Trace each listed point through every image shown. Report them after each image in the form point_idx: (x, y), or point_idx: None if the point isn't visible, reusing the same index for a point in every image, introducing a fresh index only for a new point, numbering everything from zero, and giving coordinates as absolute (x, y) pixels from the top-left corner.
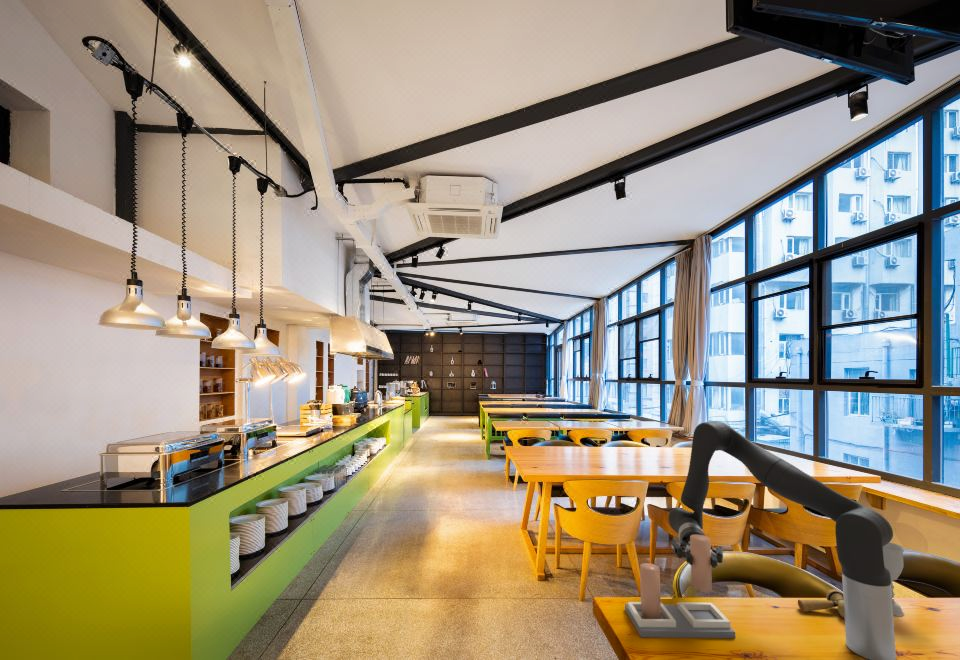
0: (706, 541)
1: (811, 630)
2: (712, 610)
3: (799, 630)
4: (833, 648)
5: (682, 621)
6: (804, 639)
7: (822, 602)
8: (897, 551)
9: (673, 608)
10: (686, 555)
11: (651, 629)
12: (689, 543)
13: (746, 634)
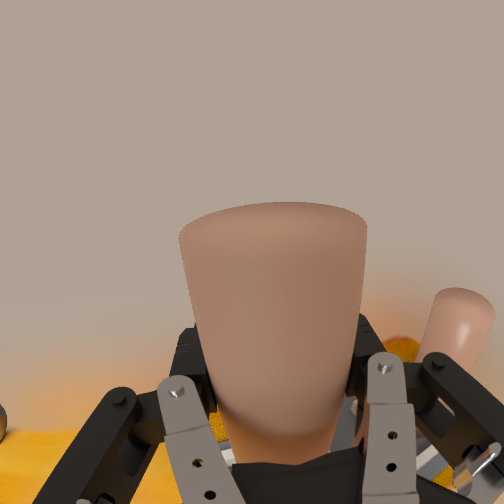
0: (229, 209)
1: (16, 488)
2: None
3: (36, 491)
4: (24, 437)
5: (339, 443)
6: (48, 463)
7: None
8: None
9: None
10: (367, 326)
11: None
12: (400, 474)
13: (166, 475)
